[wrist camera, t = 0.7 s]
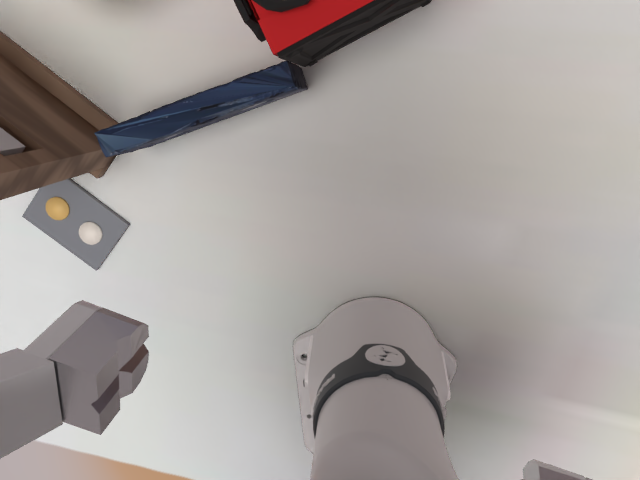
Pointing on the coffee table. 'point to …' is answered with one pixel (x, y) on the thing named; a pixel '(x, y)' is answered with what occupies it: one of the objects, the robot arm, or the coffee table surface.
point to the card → (76, 221)
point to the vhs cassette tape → (202, 109)
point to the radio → (318, 23)
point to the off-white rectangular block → (9, 144)
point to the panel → (45, 125)
